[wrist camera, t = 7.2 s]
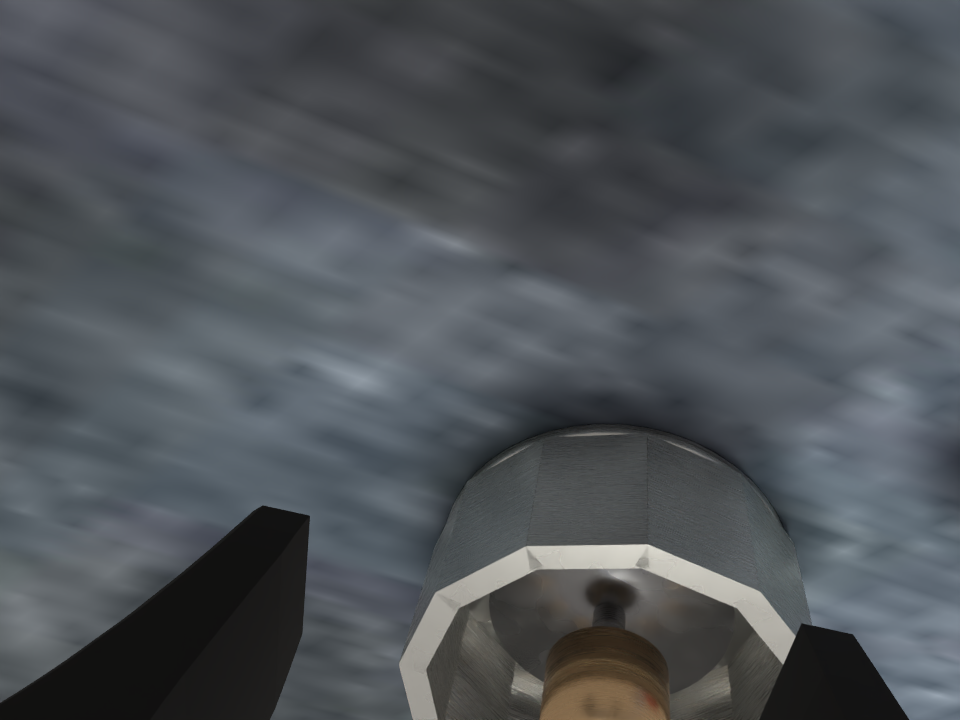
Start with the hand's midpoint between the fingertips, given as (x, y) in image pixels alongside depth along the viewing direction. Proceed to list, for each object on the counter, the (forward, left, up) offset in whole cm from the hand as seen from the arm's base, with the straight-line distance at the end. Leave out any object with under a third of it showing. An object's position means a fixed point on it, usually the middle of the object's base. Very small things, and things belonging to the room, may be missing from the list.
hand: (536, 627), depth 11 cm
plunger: (-4, +7, -9) cm, 12 cm away
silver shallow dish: (-4, +8, -10) cm, 14 cm away
